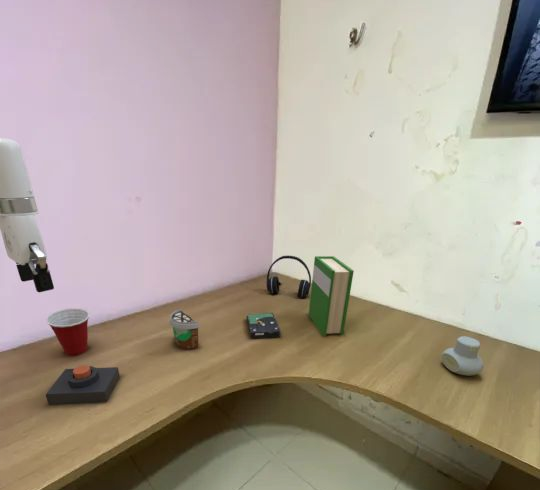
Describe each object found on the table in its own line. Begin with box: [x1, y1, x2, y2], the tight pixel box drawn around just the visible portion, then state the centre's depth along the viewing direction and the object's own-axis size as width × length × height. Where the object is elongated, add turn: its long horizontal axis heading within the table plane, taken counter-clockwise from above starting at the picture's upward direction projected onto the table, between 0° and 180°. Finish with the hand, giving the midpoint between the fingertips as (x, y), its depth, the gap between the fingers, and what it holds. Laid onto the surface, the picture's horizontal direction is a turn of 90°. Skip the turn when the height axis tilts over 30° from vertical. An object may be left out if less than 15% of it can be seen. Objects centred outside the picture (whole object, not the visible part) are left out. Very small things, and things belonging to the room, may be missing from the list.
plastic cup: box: [45, 307, 91, 356], centre depth 92 cm, size 11×11×12 cm
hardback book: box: [308, 255, 355, 337], centre depth 112 cm, size 18×7×24 cm, turn 11°
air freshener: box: [441, 335, 485, 377], centre depth 92 cm, size 11×8×10 cm
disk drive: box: [246, 312, 281, 339], centre depth 112 cm, size 10×3×15 cm
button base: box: [45, 365, 121, 406], centre depth 77 cm, size 13×10×5 cm
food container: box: [169, 308, 200, 350], centre depth 98 cm, size 12×6×10 cm, turn 40°
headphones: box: [266, 255, 312, 298], centre depth 139 cm, size 20×7×18 cm, turn 77°
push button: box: [73, 364, 91, 379], centre depth 76 cm, size 4×4×2 cm
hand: (37, 285), depth 71 cm, fingers open, 9 cm apart
